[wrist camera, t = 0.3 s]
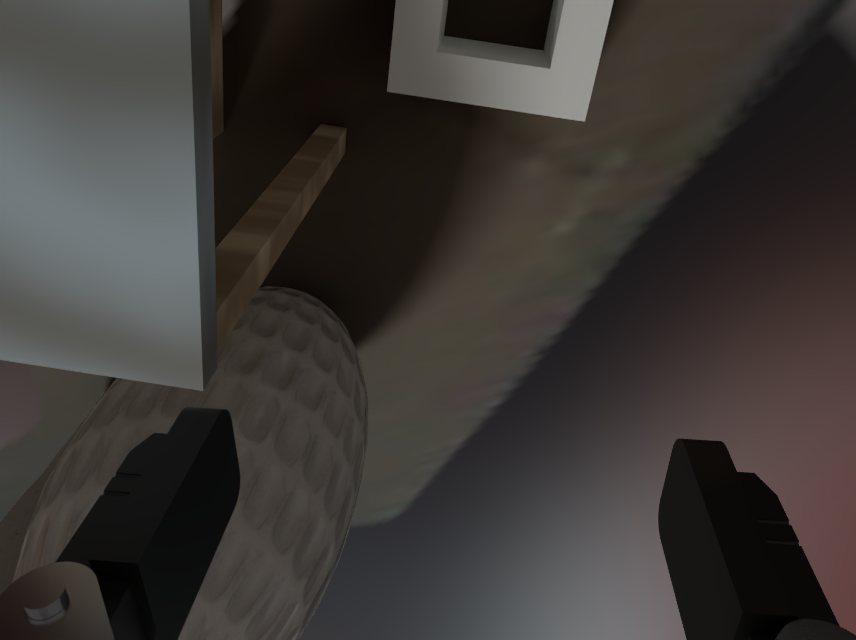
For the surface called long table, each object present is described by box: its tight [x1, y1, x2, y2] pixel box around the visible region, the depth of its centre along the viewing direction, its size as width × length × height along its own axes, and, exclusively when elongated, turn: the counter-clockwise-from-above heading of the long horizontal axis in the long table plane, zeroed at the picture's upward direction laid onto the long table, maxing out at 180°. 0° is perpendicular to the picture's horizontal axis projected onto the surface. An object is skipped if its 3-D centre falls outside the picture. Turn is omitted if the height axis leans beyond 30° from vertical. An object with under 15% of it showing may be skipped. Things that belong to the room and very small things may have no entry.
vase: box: [12, 286, 368, 640], centre depth 32 cm, size 13×13×28 cm
